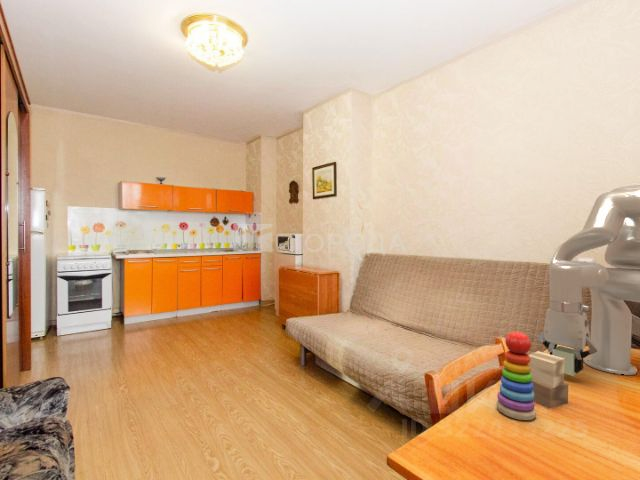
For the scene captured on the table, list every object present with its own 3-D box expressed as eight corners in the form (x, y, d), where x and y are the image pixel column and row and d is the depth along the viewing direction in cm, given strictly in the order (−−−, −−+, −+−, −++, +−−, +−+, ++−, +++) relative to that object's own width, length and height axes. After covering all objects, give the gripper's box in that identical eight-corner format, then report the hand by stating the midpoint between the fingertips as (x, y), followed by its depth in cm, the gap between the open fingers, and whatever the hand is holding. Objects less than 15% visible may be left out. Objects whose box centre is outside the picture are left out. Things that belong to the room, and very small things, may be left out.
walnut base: (539, 391, 87) (539, 372, 86) (567, 404, 80) (568, 384, 80) (521, 396, 84) (522, 376, 84) (549, 409, 77) (550, 388, 77)
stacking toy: (542, 424, 71) (545, 339, 71) (503, 419, 72) (505, 336, 72) (527, 405, 79) (529, 329, 78) (491, 401, 80) (493, 326, 80)
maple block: (537, 373, 86) (538, 351, 86) (564, 382, 81) (564, 358, 81) (526, 378, 83) (526, 355, 83) (553, 388, 78) (553, 363, 78)
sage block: (559, 365, 98) (559, 345, 98) (579, 370, 94) (579, 350, 94) (552, 369, 95) (552, 349, 95) (573, 375, 91) (573, 354, 91)
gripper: (607, 310, 89) (607, 374, 90) (538, 299, 103) (538, 356, 104) (598, 314, 85) (598, 383, 85) (527, 303, 99) (528, 362, 99)
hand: (565, 367), depth 95 cm, fingers closed on sage block, 5 cm apart
